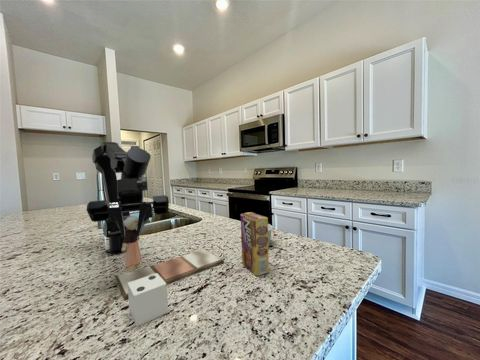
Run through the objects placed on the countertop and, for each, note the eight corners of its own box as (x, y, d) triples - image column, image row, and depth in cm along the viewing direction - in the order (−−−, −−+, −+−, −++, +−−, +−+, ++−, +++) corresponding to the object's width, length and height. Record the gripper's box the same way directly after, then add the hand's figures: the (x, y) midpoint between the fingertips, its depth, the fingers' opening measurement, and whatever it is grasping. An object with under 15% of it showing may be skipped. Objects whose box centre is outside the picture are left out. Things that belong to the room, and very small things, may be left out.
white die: (136, 326, 40) (133, 295, 39) (129, 310, 44) (127, 282, 44) (168, 312, 43) (166, 283, 43) (158, 298, 48) (157, 272, 48)
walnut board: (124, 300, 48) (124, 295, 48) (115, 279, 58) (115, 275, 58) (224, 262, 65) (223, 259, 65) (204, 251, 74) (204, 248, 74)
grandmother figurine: (137, 272, 50) (135, 219, 49) (120, 274, 49) (117, 220, 49) (144, 258, 58) (143, 212, 57) (129, 260, 57) (127, 213, 56)
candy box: (270, 272, 58) (268, 217, 57) (256, 277, 56) (254, 219, 55) (254, 260, 66) (252, 211, 65) (241, 263, 64) (239, 213, 63)
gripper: (85, 168, 52) (73, 224, 42) (166, 166, 59) (171, 213, 49) (95, 196, 60) (88, 249, 50) (166, 191, 67) (171, 236, 57)
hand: (130, 236), depth 52 cm, fingers closed on grandmother figurine, 3 cm apart
